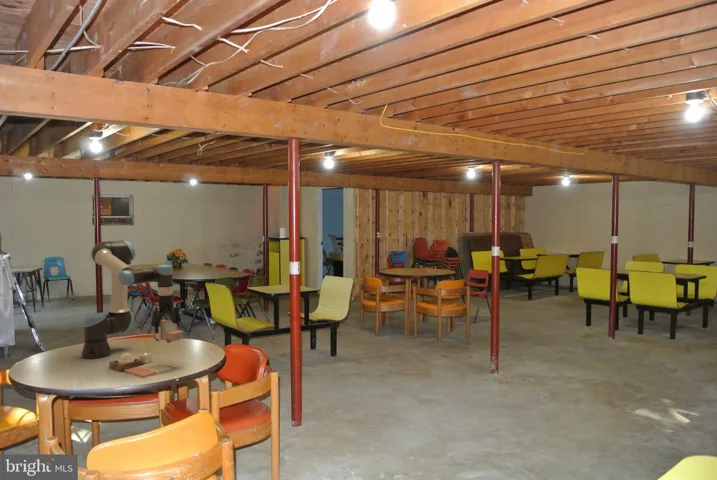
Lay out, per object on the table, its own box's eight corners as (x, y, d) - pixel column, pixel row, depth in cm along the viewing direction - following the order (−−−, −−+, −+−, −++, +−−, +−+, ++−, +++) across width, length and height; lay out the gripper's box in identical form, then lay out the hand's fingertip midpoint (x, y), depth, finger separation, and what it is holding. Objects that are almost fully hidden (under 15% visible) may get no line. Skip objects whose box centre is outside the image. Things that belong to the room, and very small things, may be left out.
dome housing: (109, 367, 284) (109, 362, 283) (131, 362, 293) (130, 356, 293) (121, 371, 276) (121, 365, 276) (143, 366, 286) (143, 360, 286)
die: (139, 362, 292) (139, 353, 292) (145, 360, 296) (145, 351, 296) (145, 363, 290) (145, 354, 290) (151, 361, 294) (151, 352, 294)
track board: (124, 371, 276) (124, 369, 276) (153, 364, 289) (153, 362, 289) (142, 377, 266) (142, 375, 266) (171, 369, 278) (171, 368, 278)
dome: (115, 365, 284) (114, 353, 284) (129, 362, 290) (129, 350, 290) (122, 368, 279) (122, 355, 279) (137, 364, 285) (137, 352, 285)
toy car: (171, 344, 277) (170, 324, 276) (150, 340, 284) (149, 321, 284) (185, 340, 285) (184, 321, 284) (164, 336, 292) (164, 318, 292)
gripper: (150, 298, 273) (152, 342, 274) (187, 292, 290) (188, 334, 292) (142, 296, 277) (143, 340, 279) (179, 291, 295) (180, 332, 296)
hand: (166, 337), depth 285 cm, fingers closed on toy car, 9 cm apart
